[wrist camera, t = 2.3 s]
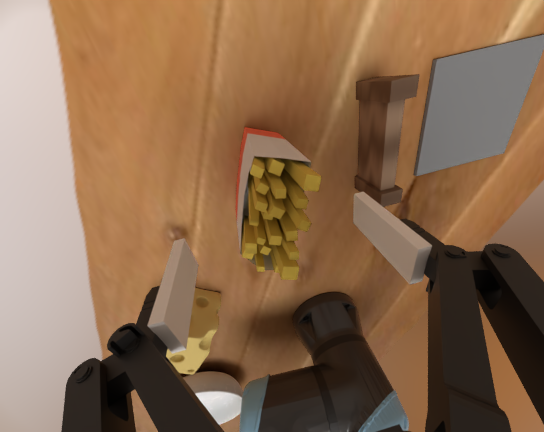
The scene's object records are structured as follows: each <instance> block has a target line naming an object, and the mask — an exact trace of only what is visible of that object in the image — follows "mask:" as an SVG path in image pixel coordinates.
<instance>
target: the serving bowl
mask: <svg viewBox="0 0 544 432" xmlns="http://www.w3.org/2000/svg"><path fill="white" fill-rule="evenodd" d="M183 379H184V380H185V381H186V383H187V384H188V385H189V386H190V388H191V389H192V390H193V392H194V393H195V394H196V396H197V397H198V398H199V400H200V401H201V402H202V403H203V405H204V406H205V407H206V409H207V410H208V411H209V413H210V414H211V415H212V417H213V418H214V419H215V420H216V422H217V423H218V424H219V425H220V424H222V423H225V422H227V421H229V420H231V419H233V418H234V417H236V416H237V415H239V414H240V413H241V402H242V395H243V391H242V388H241V386H240V384H239V383H238V382H237V381H236V380H235V379H234V378H233V377H232V376H230V375H228V374H225V373H222V372H215V371H207V372H199V373H195V374H193V375H192V374H191V375H188V376H186V377H183Z"/></svg>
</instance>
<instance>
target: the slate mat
mask: <svg viewBox="0 0 544 432" xmlns="http://www.w3.org/2000/svg"><path fill="white" fill-rule="evenodd" d="M543 50H544V34H543V35H539V36H534V37H530V38H526V39H521V40H517V41H513V42H508V43H504V44H500V45H495V46H491V47H487V48H482V49H478V50H474V51H469V52H465V53H461V54H456V55H452V56H448V57H443V58H439V59H435V60H433V64H432V70H431V76H430V81H429V87H428V93H427V99H426V105H425V111H424V117H423V123H422V129H421V135H420V141H419V147H418V153H417V159H416V165H415V170H414V175H415V176H419V175H422V174H426V173H430V172H434V171H438V170H441V169H445V168H449V167H453V166H457V165H460V164H464V163H468V162H472V161H476V160H479V159H483V158H487V157H491V156H495V155H498V154H502V153H504V152H505V149H506V146H507V144H508V141H509V138H510V136H511V133H512V131H513V128H514V125H515V123H516V120H517V118H518V115H519V112H520V110H521V107H522V104H523V102H524V99H525V97H526V94H527V91H528V89H529V86H530V84H531V81H532V78H533V76H534V73H535V70H536V68H537V65H538V63H539V60H540V57H541V55H542V52H543Z"/></svg>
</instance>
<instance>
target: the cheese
mask: <svg viewBox="0 0 544 432" xmlns="http://www.w3.org/2000/svg"><path fill="white" fill-rule="evenodd" d="M220 306H221V295H220V293H218V292H214V291H208V290H203V289H199V288H195V292H194V299H193V306H192V313H191V320H190V327H189V334H188V341H187V348H186V350H183V351H180V352H176V353H173V354H172V353H171V352H170V350H169V349H167V354H166V357H167V358H168V359H169V360H170V362H171V363H172V364H173V366H174V367H175V368H176V370H177V371H178V372H179V373H183V374H192V375H193V374H194V373H195V372H196V371H197V369H198V368H199V367H200V365H201V364H202V363H203V361H204V360H205V358H206V357H207V355H208V354H209V352H210V345H211V340H212V337H213V335H214V334H215V332H216V331H217V329H218V325H219V316H218V315H217V313H218V311H219V309H220Z"/></svg>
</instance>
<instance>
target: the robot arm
mask: <svg viewBox="0 0 544 432" xmlns="http://www.w3.org/2000/svg"><path fill="white" fill-rule="evenodd" d="M353 223H354V224H355V225H356V226H357V228H358V229H359V230H360V231H361V232H362V233H363V234H364V235H365V236H366V237H367V238H368V239H369V241H370V242H371V243H372V244H373V245H374V246H375V247H376V248H377V249H378V250H379V251H380V253H381V254H382V255H383V256H384V257H385V258H386V259H387V260H388V261H389V262H390V263H391V265H392V266H393V267H394V268H395V269H396V270H397V271H398V272H399V273H400V274H401V275H402V277H403V278H404V279H405V280H406V281H407V282H408V283H409V284H414V283H417V282H420V281H422V280H423V276H424V274H425V275H426V276H427V277H428V278H429V282H428V285H427V288H426V291H427V292H428V413H427V419H426V427H425V432H511V428H510V424H509V420H508V418H507V416H506V414H505V412H504V411H503V410H501V409H500V408H499V406H498V404H497V400H496V395H495V389H494V384H493V379H492V373H491V368H490V363H489V358H488V352H487V347H486V342H485V336H484V330H483V325H482V320H481V315H480V309H479V304H478V301H479V303H480V305H481V307H482V309H483V311H484V313H485V315H486V317H487V318H488V320H489V322H490V324H491V326H492V328H493V329H494V332H495V333H496V335H497V337H498V339H499V341H500V343H501V344H502V347H503V348H504V350H505V352H506V354H507V356H508V358H509V360H510V362H511V363H512V365H513V367H514V369H515V371H516V373H517V375H518V377H519V379H520V380H521V382H522V384H523V386H524V388H525V390H526V392H527V394H528V395H529V397H530V399H531V401H532V403H533V405H534V407H535V409H536V411H537V412H538V414H539V416H540V418H541V420H542V422H543V424H544V282H543V281H542V279H541V278H540V277H539V276H538V275H537V274H536V272H535V271H534V270H533V269H532V268H531V267H530V266H529V265H528V263H527V262H526V261H525V260H524V259H523V257H522V256H521V255H520V254H519V253H518V252H517V251H516V250H514V249H512V248H510V247H508V246H505V245H501V244H488V245H486V246H485V248H484V250H483V251H476V252H466V251H465V250H464V249H462V248H459V247H456V246H453V245H444V244H443V243H442V242H440V241H439V240H438V239H436V238H435V237H433V236H432V235H431V234H429V233H428V232H427V231H425V230H424V229H423V228H420V226H419V225H417V224H416V223H414V222H413V221H410V220H408V219H401V220H399V219H398V218H396V217H395V216H394V215H393V214H391V213H390V212H389V211H388V210H386V209H385V208H384V207H382V206H381V205H380V204H379V203H377V202H376V201H375V200H373V199H372V198H371V197H370V196H368V195H367V194H366V193H365V192H360V193H356V194H354V212H353ZM197 271H198V263H197V261H196V259H195V257H194V255H193V253H192V251H191V250H190V248H189V246H188V244H187V242H186V240H185V238H184V239H180V240H176V241H174V244H173V247H172V250H171V253H170V256H169V259H168V262H167V266H166V269H165V272H164V275H163V278H162V281H161V285H160V286H157V287H154V288H152V289H151V290H150V292H149V293H148V294H147V296H146V299H145V301H144V305H143V307H142V309H141V310H142V311H141V312H140V315H139V318H138V320H137V323H136V324H134V323H128V324H126V325H123V326H122V327H120V328H119V329H117V330H116V331H115V332H114V333H113V334H112V336H111V337H110V339H109V341H108V344H107V347H108V350H109V351H111V352H112V353H113V355H111V356H109V357H108V358H106V359H104V360H102V361H100V360H98V359H96V358H92V359H88V360H87V361H85V362H83V363H82V364H80V365H79V366H78V367H77V368H76V369H75V370H74V371H73V372H72V374H71V375H70V377H69V379H68V381H67V384H66V392H65V403H64V412H63V423H62V432H136V429H135V421H134V414H133V406H132V399H131V391H133V390H134V389H135V390H136V391H137V393H138V395H139V397H140V399H141V401H142V402H143V404H144V406H145V408H146V410H147V412H148V413H149V415H150V417H151V419H152V421H153V423H154V424H155V426H156V428H157V430H158V432H224V431H223V430H222V428H221V427H220V426H219V424H218V423H217V422H216V420H215V419H214V418H213V417H212V415H211V414H210V413H209V411H208V410H207V409H206V407H205V406H204V405H203V403H202V402H201V401H200V400H199V398H198V397H197V396H196V394H195V393H194V392H193V390H192V389H191V388H190V386H189V385H188V384H187V383H186V381H185V380H184V379H183V377H182V376H181V375H180V373H179V372H178V371H177V370H176V368H175V367H174V366H173V364H172V363H171V362H170V360H169V359H168V358H167V357H166V354H167V349H169V350H170V352H171V353H172V354H173V353H176V352H180V351H183V350H186V348H187V341H188V334H189V327H190V320H191V313H192V306H193V299H194V292H195V285H196V278H197ZM293 325H294V329H295V332H296V334H297V336H298V337H299V339H300V340H301V342H302V343H303V345H304V346H305V348H306V349H307V351H308V352H309V354H310V355H311V357H312V360H313V363H314V366H309V367H305V368H301V369H296V370H292V371H288V372H284V373H280V374H276V375H272V376H270V374H269V375H267V376H266V377H263V378H260V379H256V380H253V381H251V382H249V383H248V384H247V385H246V387H245V389H244V391H243V395H242V402H241V413H240V432H410V431H408V428H409V422H408V418H407V415H406V413H405V411H404V409H403V407H402V405H401V403H400V401H399V399H398V397H397V393H396V391H395V390H394V389H393V388H392V386H391V384H390V382H389V380H388V379H387V377H386V375H385V373H384V372H383V370H382V368H381V366H380V365H379V363H378V361H377V359H376V357H375V356H374V354H373V352H372V350H371V349H370V347H369V345H368V343H367V342H366V340H365V338H364V336H363V332H362V328H361V323H360V319H359V314H358V310H357V308H356V306H355V304H354V302H353V301H352V299H351V298H350V297H349V296H347V295H345V294H343V293H336V292H333V293H325V294H321V295H318V296H315V297H313V298H311V299H309V300H308V301H306V302H305V303H303V304H302V305H301V306H300V307H299V308H298V309H297V311H296V312H295V314H294V316H293Z"/></svg>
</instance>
